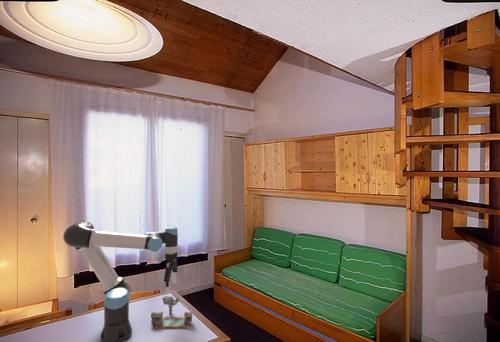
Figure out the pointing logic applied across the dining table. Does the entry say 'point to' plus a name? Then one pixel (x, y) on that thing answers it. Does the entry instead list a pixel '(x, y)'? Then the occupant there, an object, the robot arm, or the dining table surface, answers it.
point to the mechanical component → (170, 302)
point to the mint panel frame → (170, 320)
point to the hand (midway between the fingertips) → (171, 287)
